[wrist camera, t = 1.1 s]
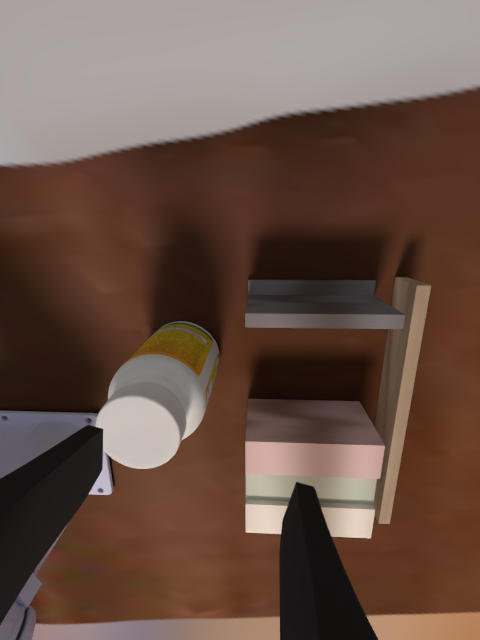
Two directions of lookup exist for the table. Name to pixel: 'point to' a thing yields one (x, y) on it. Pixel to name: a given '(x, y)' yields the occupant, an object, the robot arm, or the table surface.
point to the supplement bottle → (159, 395)
